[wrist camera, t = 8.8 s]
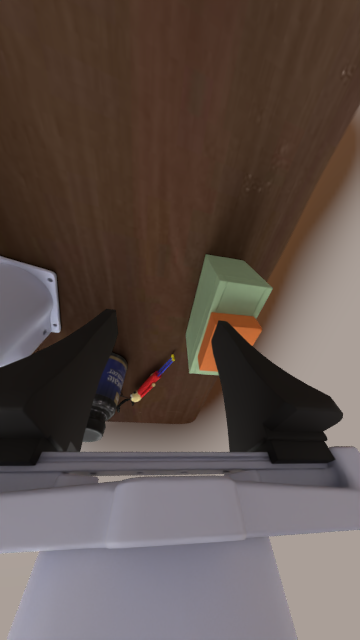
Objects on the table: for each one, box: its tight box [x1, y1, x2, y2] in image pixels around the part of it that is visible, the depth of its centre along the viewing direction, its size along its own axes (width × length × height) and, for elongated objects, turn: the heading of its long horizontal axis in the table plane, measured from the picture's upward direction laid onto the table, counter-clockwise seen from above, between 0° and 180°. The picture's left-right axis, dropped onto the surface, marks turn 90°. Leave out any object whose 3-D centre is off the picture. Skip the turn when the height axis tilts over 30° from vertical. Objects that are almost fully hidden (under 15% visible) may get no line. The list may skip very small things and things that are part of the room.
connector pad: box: [198, 312, 262, 372], centre depth 16 cm, size 6×4×3 cm, turn 172°
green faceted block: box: [186, 254, 273, 375], centre depth 19 cm, size 12×4×7 cm, turn 170°
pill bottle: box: [82, 353, 127, 442], centre depth 24 cm, size 6×6×11 cm
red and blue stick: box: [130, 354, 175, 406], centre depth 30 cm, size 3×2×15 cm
